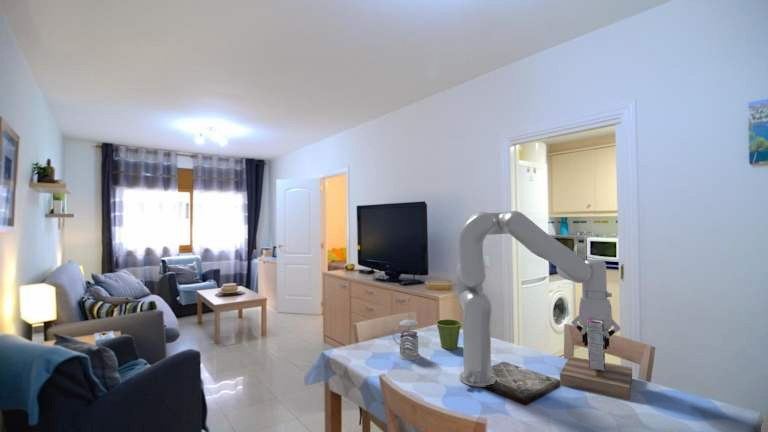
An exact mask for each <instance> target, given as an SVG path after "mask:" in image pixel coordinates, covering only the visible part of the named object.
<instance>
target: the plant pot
mask: <svg viewBox="0 0 768 432" xmlns="http://www.w3.org/2000/svg"><path fill="white" fill-rule="evenodd" d="M435 324H436V325H437V326H436V327H437V329H438V336H439V340H440V341H439V342H440V346H441V348H442V349H446V350H449V351H450V350H452V351H453V350H455V349H457V348H458V347H459V346H458V345H459V338H460V332H461V328H462V326H463V321H460V320H458V319H452V318H451V319H449V318H444V319H443V318H442V319H438V320H436V321H435Z"/></svg>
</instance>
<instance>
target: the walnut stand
mask: <svg viewBox="0 0 768 432" xmlns="http://www.w3.org/2000/svg"><path fill="white" fill-rule="evenodd" d="M559 381H560V382H559V384H560V383H561V385H560V386H564V387H568V388H572V389H578V390H583V391H587V392H590V393H595V394H600V395H605V396H609V397H614V398H617V399H618V398H619V399H623V400H626V401H627V400H628V401H630V400H631V392H632V385H633V384H632V383H633V367H632V366H629V365H628V366H627V365H621V364H616V363H610V362H605V371H601V370H594V369H590V367H589V358H588V359H587V358H581V357H576V356H571V355H570V356H569V357H568V359H567V360H566V362H565V364H564V366H563V367H562V369H561V370H560V372H559Z"/></svg>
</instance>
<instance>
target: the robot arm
mask: <svg viewBox="0 0 768 432" xmlns="http://www.w3.org/2000/svg"><path fill="white" fill-rule="evenodd" d="M508 234H509V235H510V236H511V237H512V238H514V239H515V240H516V241H518V242H519V243H520V244H521V245H522V246H524V248H526V249H527V250H529V251H530V252H531V253H532V254H533V255H535V256H537V257H539V258H541V259H544V260H545V261H547V262H549V263H550V264H552V265H553V266H555V267H556V273H557V275H558V276H560V277H561V278H562V279H564V280H567V281H571V282H574V283H577V284H582V285H581V287H582V289H581V290H582V295H581V297H580V298H579V305H578V315H577V316H576V317H575V318H574V319H573V320H572V321H571V325H573V326H574V327H575V328H576V329H577V330H578V331H579V332H580V334H581V337H582V338H581V339H582V343H583V345H584V347H588V335H587V320H588V319H594V320H602V321H603V328H604V350H607V349H608V347H609V348H610V337H611V336H613V335H615V333H617V332H619V331H620V330H621V326H620V325H619V324H618V323H617V322H616V321H615V320H614V318H613V310H612V305H611V301H610V299H609V298H611V297H612V296H613V295H612V292H608V290H607V289H608V287H607V285H608V284H607V263H606V262H605V261H604V260H603V259H602V260H601V259H585V260H584V259H583V258H581V256H579V255H578V254H577V253H575V252H574V251H573V250H572V249H571V248H569V247H568V246H566V245H564V244H563V243H561V242H560V241H558V240H557V239H556V238H554V237H552V235H550V234H548V233H547V232H546V231H544V229H542V228H541V227H539V226H538V225H537V224H536V223H535V222H534V221H532V220H531V219H530V218H529V217H528V216H527V215H526V214H524V213H523V212H521V211H518V210H509V211H502V212H501V211H500V212H487V211H481V212H476V213H473V214H472V215H470V216H469V218H468V220H467V222H466V223H465V224H464V226H463V228H462V229H461V231H460V233H459V236H458V237H459V238H458V258H459V263H458V264H457V266H456V273H455V275H456V283H457V291H458V293H457V294H458V300H459V303H460V306H461V308H462V310H463V319H462V335H463V337H462V339H463V341H462V343H463V344H462V345H463V371H461V373H459V380H460V381H461V382H462V383H463V384H464V385H465V384H466V385H468V386H472V387H477V388H486V385H489V384H492V383H494V382H495V381H497V379H496V376H495V375H494V374H493V373H492V349H491V348H492V345H491V344H492V342H491V322H492V321H491V319H492V304H491V301H490V298H489V297H488V295H486V294H485V293H484V287H483V286H484V285H483V284H484V283H485V281H486V275H487V274H486V269H485V262H484V260H485V259H484V251H483V250H484V240H485V239H486V237H488V236H489V235H491V236H492V235H508ZM612 327H613V328H612ZM610 329H611V330H610ZM493 377H494V378H493ZM495 383H496V382H495Z"/></svg>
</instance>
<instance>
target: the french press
mask: <svg viewBox="0 0 768 432" xmlns="http://www.w3.org/2000/svg"><path fill="white" fill-rule="evenodd" d="M406 301H408V302H407V303H408V305H407V307H408V308H407V309H408V312H407V313H408V316H407V317H410V301H411V297H410V296H407V297H406ZM399 325H400V326H399ZM399 325H398V326H396V327H395V329H394V330H393V333H392V334H393V335H392V337H393V338H392V339H393V341H394V342H395V343H396V345H399V353H398V355H397V357H398V358H399V359H401V360H404V361H405V360H406V361H414V360H418V359H420V358H421V353H419V336H418V332H417V331H414V330H410V329H408V330H403V331H401V332H400V334H401V335H400V336H399V340H400V341H399V342H398V341H397V340H396V338H395V332H396V330H397V329H401V327H405V328H407V327H408V328H410V327H411V328H412V327H417V326H418V325H419V323H418V322H417V320H413V319H410V318H408V319H403V320H402V321H400V322H399Z"/></svg>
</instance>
